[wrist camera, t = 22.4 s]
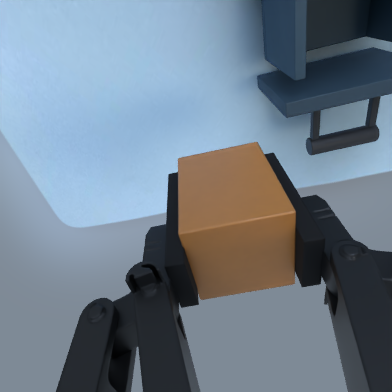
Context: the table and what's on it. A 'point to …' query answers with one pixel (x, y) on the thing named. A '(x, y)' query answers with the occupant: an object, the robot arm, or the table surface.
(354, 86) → the drawer
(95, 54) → the table surface
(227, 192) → the carton
